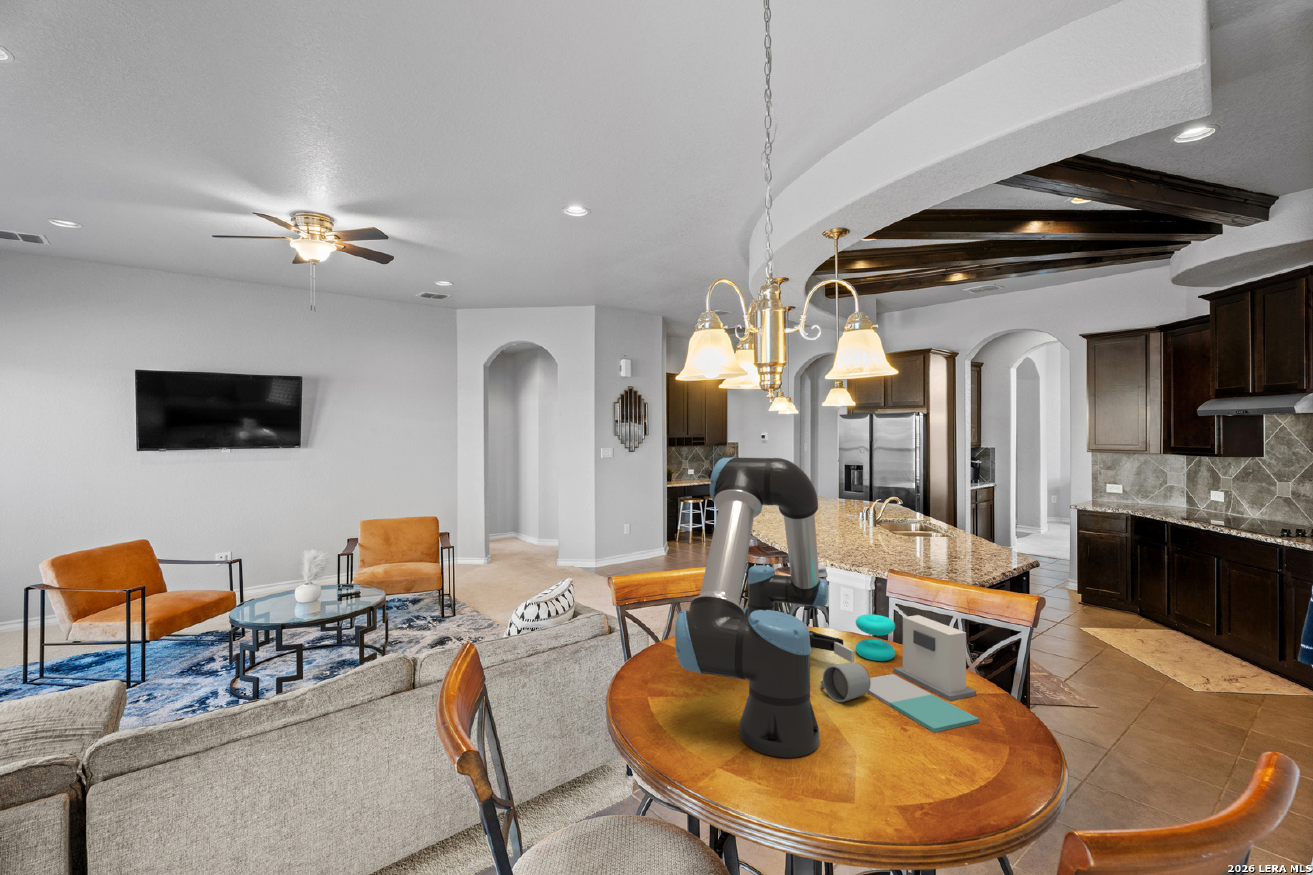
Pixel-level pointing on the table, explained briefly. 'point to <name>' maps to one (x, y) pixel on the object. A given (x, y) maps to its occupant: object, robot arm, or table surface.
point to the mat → (919, 704)
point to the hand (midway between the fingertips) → (829, 660)
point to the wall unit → (935, 657)
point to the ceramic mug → (846, 681)
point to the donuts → (875, 647)
